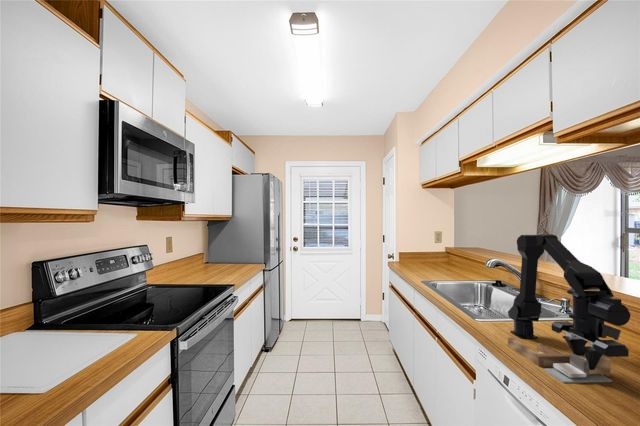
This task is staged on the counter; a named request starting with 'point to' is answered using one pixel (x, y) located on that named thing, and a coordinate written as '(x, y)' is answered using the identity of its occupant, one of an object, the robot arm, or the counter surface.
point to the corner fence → (534, 356)
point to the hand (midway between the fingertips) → (586, 366)
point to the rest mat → (567, 379)
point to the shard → (545, 349)
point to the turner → (582, 366)
